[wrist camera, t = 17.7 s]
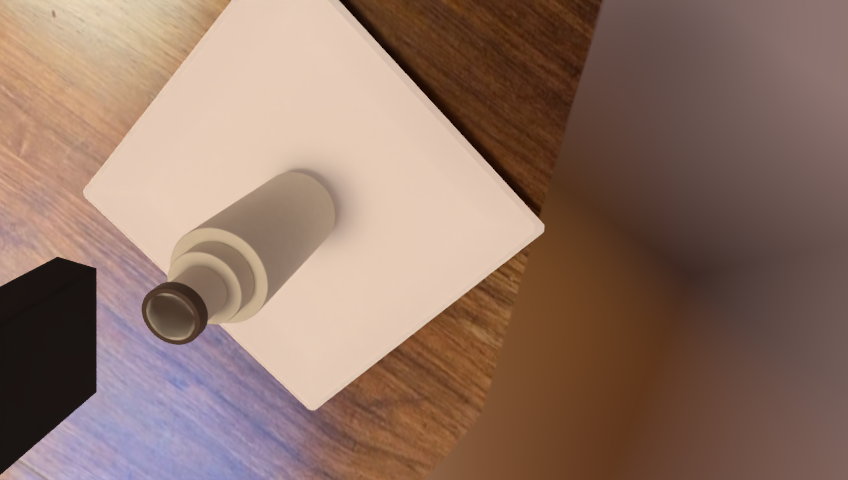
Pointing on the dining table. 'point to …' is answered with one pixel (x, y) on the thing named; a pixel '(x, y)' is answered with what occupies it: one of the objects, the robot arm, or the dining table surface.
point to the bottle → (240, 257)
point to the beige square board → (333, 168)
